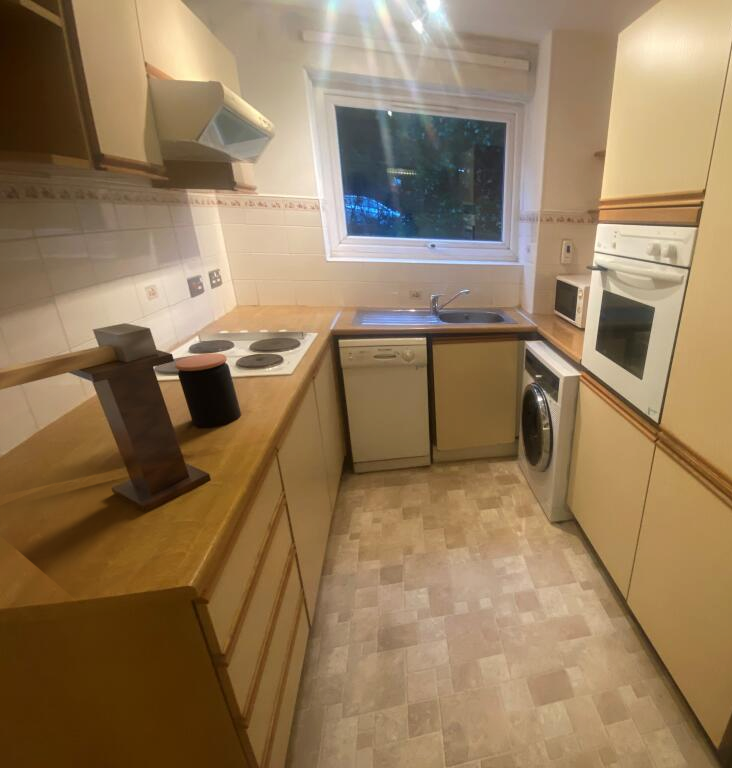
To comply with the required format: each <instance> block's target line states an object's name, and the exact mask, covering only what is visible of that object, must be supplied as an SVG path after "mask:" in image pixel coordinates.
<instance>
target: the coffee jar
mask: <svg viewBox="0 0 732 768" xmlns="http://www.w3.org/2000/svg"><path fill="white" fill-rule="evenodd" d="M227 360H228V359H227V356H226V355H225V354H223V353H218V352H217V353H216V352H215V353H213V352H212V353H211V352H210V353H201V354H195V355H190V356H187V357H184V358H180V359H179V360H177V361H176V362H175V363H174V366H175V368H176V370H178V372H177V376H178V379H179V382H180V385H181V389H182V392H183V396H184V398H185V401H186V405H187V408H188V411H189V415H190V418H191V421H192V425H193V426H194V427H195V428H197V429H214V428H215V429H216V428H219V427H224V426H227V425H230V424H232V423H234V422H236V421H238V420H239V419H240V418H241V416H242V412H241V409H240V403H239V400H238V395H237V393H236V389H235V385H234V381H233V377H232V373H231V370H230V366H229V363H227Z"/></svg>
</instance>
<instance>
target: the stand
mask: <svg viewBox="0 0 732 768" xmlns="http://www.w3.org/2000/svg"><path fill="white" fill-rule="evenodd" d="M157 352H158V354H157V355H153V356H149V357H145V358H142V359H138V360H134V361H130V362H124V361H120V360H116V361H112V362H108V363H104V364H100V365H96V366H92V367H88V368H84V369H80V370H77V371H73V372H69V373H68V374H71V375H74V376H75V377H79V378H81V379H84V380H87V381H89V382H92V386H93V387H94V391H95V393H96V394H97V398H98V401H99V404H100V405H101V408H102V410H103V413H104V416H105V418H106V421H107V423H108V426H109V428H110V431H111V433H112V436H113V438H114V441H115V444H116V446H117V449H118V451H119V454H120V456H121V459H122V462H123V464H124V466H125V469H126V472H127V474H128V477H129V480H127V481H124V482H122V483H119V484H118V485H115V486H113V487H111V490H112V493H113V495H115V496H116V497H119V498H120V499H122V500H124V501H125V502H127V503H129V504H130V505H132V506H134V507H135V508H137V509H139V510H141V511H142V512H144V513H147V512H150V511H151V510H153V509H155V508H157V507H160V506H162V505H163V504H165V503H167V502H169V501H172V500H173V499H175V498H178V497H179V496H181V495H183V494H185V493H187V492H189V491H191V490H193V489H195V488H197V487H199V486H201V485H203V484H205V483H207V482H209V481H211V480H212V478H211V475H210V473H209V472H207V471H204V470H202V469H200V468H197V467H195V466H193V465H191V464H189V463H186V461H185V459H184V455H183V452H182V449H181V447H180V443H179V440H178V437H177V434H176V431H175V428H174V426H173V423H172V419H171V417H170V414H169V410H168V407H167V404H166V402H165V398H164V395H163V393H162V389H161V386H160V383H159V380H158V377H157V375H156V374H157V373H156V371H155V368H154V367H158V366H162V365H167V364H169V363H170V364H171V363H173V362H175V359H174V356H173V353H170V352H166V351H162V350H159V349H157Z"/></svg>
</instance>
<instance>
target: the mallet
mask: <svg viewBox="0 0 732 768" xmlns="http://www.w3.org/2000/svg"><path fill="white" fill-rule="evenodd" d="M92 332H93V334H94V337H95V339H96V342H97V345H98V346H95V347H90V348H86V349H82V350H77V351H72V352H68V353H64V354H59V355H55V356H51V357H46V358H42V359H36V360H33V361H28V362H24V363H18V364H14V365H10V366H5V367H2V368H0V391H1V390H5V389H9V388H14V387H17V386H20V385H21V386H22V385H25V384H28V383H32V382H36V381H40V380H44V379H45V380H46V379H48V378H52V377H56V376H60V375H64V374H70V373H69V372H73V371H77V370H80V369H84V368H88V367H92V366H96V365H100V364H104V363H108V362H112V361H116V360H120V361H124V362H130V361H134V360H138V359H142V358H145V357H149V356H153V355H157V354H158V352H157V350H158V348H157V346H156V342H155V339H154V337H153V334H152V330H151V328H150V327H146V326H141V325H136V324H131V323H126V322H124V323H119V324H114V325H109V326H105V327H104V326H102V327H97V328H93V329H92Z"/></svg>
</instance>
